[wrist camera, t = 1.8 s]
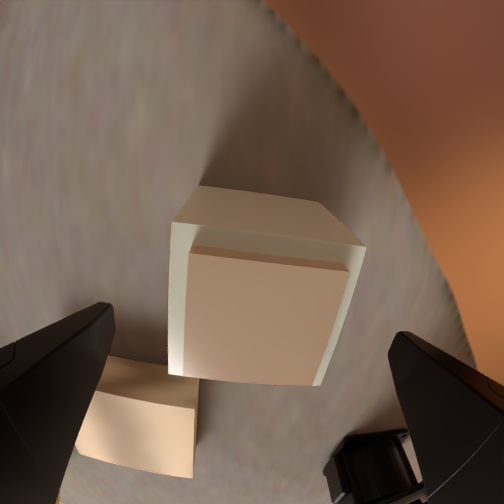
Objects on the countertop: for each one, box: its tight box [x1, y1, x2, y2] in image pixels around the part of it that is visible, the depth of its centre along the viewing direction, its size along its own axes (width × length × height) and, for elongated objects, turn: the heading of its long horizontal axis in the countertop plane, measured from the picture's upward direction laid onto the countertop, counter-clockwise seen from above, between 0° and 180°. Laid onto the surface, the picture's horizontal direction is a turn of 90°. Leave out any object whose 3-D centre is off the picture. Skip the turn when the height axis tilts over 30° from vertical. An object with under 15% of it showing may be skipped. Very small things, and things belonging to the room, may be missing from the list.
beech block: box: [75, 355, 199, 478], centre depth 18 cm, size 9×9×4 cm
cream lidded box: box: [168, 185, 367, 386], centre depth 12 cm, size 6×6×7 cm
